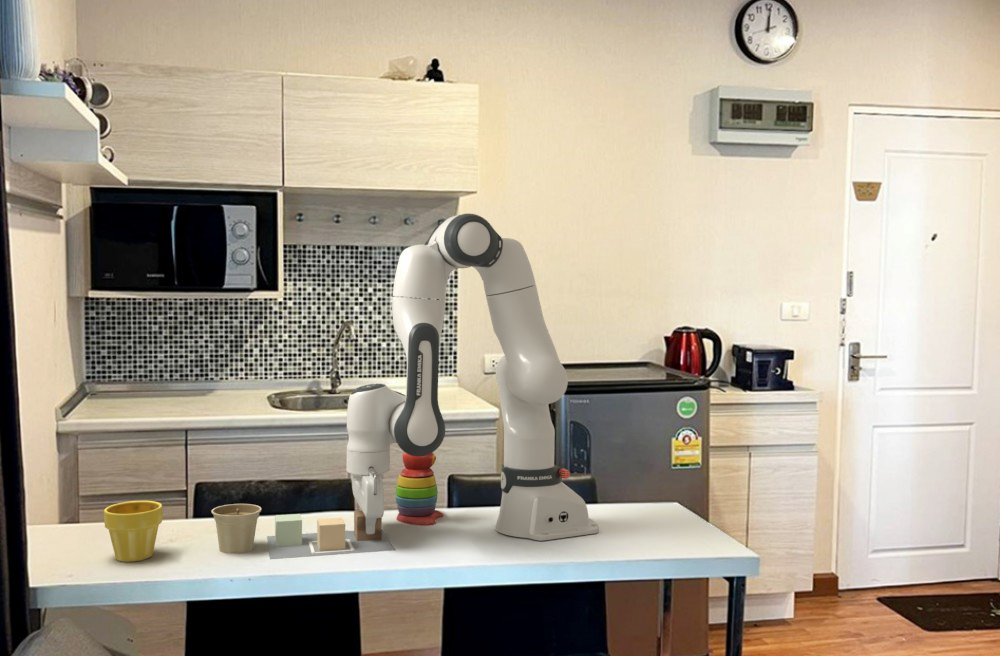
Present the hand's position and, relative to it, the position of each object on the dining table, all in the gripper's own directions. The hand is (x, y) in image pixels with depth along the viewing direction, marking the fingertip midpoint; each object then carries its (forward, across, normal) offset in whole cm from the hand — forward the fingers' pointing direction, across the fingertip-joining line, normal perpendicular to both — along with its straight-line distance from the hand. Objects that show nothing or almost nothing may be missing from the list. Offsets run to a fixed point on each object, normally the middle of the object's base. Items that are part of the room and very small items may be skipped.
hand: (367, 529), depth 183 cm
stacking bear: (+3, +12, -13) cm, 18 cm away
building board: (+2, -2, +8) cm, 9 cm away
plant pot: (+3, 0, +45) cm, 45 cm away
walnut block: (+2, 0, 0) cm, 2 cm away
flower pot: (+3, -2, +26) cm, 26 cm away
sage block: (+2, 0, +16) cm, 16 cm away
